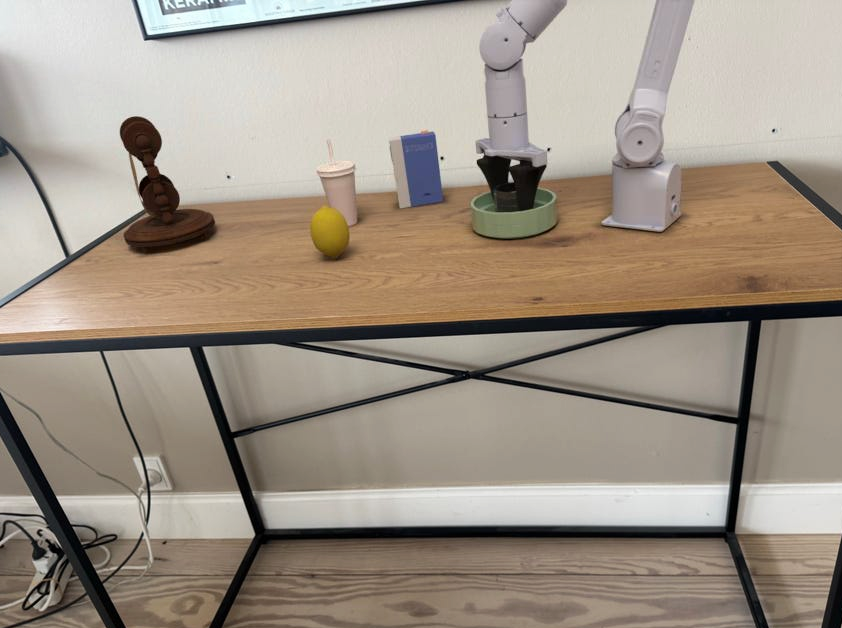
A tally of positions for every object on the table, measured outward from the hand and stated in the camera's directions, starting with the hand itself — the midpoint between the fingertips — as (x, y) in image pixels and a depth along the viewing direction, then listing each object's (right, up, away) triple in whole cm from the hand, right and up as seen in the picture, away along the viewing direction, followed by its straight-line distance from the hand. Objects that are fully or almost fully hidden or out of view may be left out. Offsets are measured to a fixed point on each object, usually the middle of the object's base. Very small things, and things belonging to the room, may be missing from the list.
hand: (513, 206), depth 106 cm
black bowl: (0, -1, +1) cm, 1 cm away
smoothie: (-27, 0, +12) cm, 30 cm away
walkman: (-15, +4, +17) cm, 23 cm away
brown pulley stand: (-57, -3, +13) cm, 59 cm away
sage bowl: (0, -3, +2) cm, 3 cm away
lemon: (-27, -9, -3) cm, 28 cm away
